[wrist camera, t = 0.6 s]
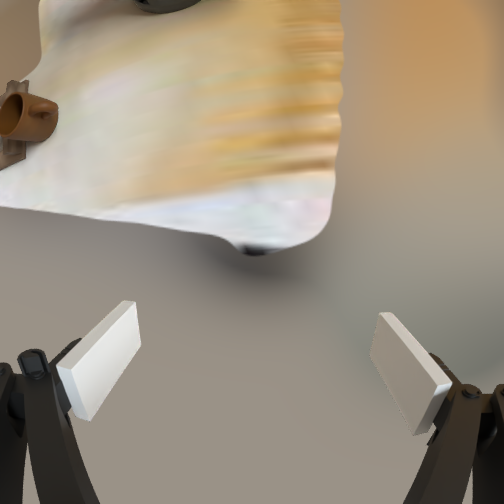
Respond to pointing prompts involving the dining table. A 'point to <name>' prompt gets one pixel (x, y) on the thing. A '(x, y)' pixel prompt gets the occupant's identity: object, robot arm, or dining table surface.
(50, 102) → the mug
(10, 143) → the peg stand
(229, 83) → the dining table surface
